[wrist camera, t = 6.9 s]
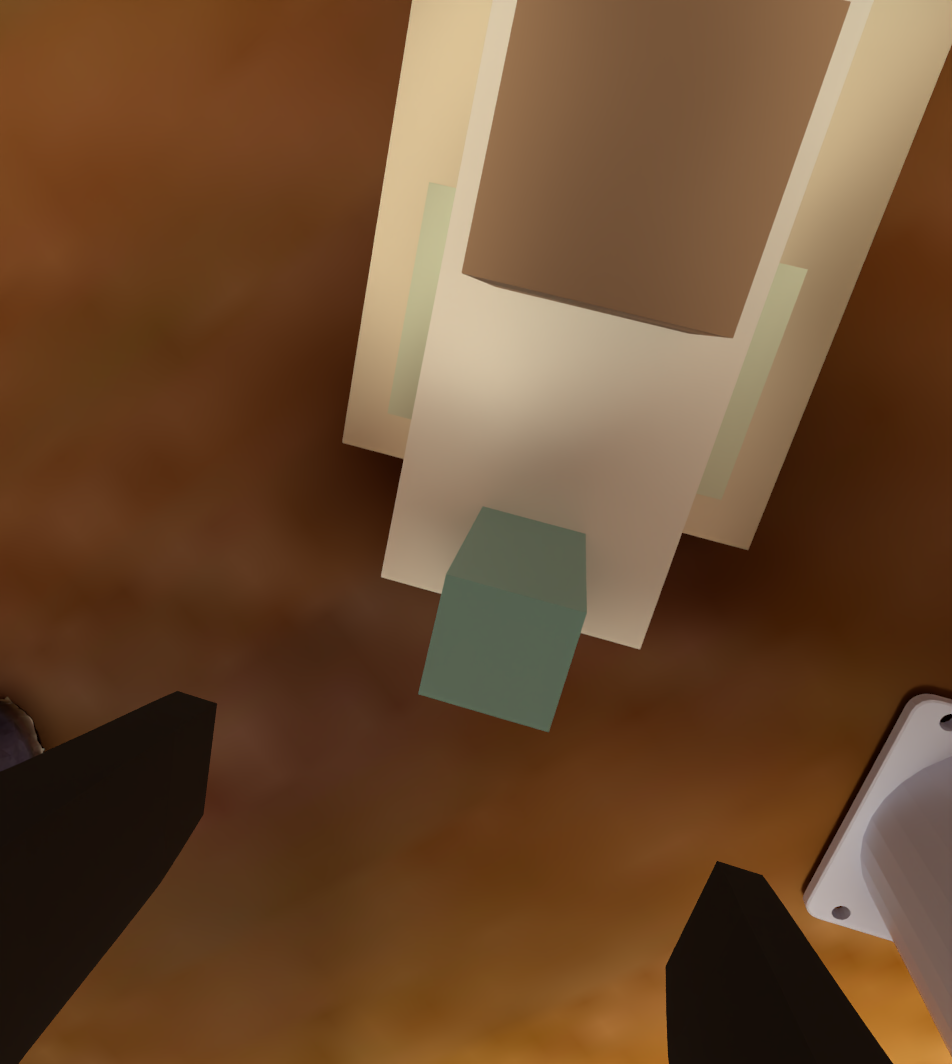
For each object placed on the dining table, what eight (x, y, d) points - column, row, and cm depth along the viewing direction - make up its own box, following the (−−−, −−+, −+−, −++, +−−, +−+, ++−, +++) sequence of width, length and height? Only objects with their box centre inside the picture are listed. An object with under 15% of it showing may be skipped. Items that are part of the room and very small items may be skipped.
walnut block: (763, 105, 12) (851, 1, 8) (689, 333, 13) (732, 338, 9) (546, 60, 12) (530, -64, 8) (496, 286, 13) (461, 273, 9)
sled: (884, -62, 11) (1102, -339, 6) (637, 633, 16) (660, 764, 11) (527, -129, 12) (490, -434, 7) (390, 565, 16) (312, 662, 12)
